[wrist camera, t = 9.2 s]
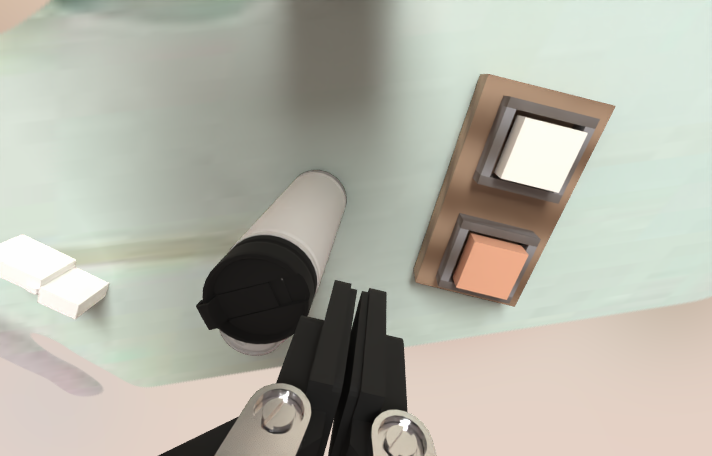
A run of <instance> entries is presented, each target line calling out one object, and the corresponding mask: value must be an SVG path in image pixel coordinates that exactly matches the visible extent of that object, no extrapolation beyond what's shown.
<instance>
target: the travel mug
mask: <svg viewBox="0 0 712 456" xmlns="http://www.w3.org/2000/svg"><path fill="white" fill-rule="evenodd" d="M346 202H347V198H346V192H345V189H344V187H343V185H342V184H341V182H340V181H339V180H338V179H337V178H336V177H335V176H333V175H332V174H330V173H328V172H325V171H321V170H311V171H307V172H305V173H302V174H301V175H299V176H298V177H297V178H296V179H295V180H294V181H293V182H292V183H291V184H290V186H289V187H288V188H287V189H286V190H285V191H284V192H283V193H282V194H281V195H280V196H279V197H278V198H277V199H276V201H275V202H274V203H273V204H272V205H271V206H270V207H269V208H268V209H267V210H266V211H265V212H264V213H263V215H262V216H261V217H260V218H259V219H258V220H257V221H256V222H255V223H254V224H253V225H252V226H251V227H250V228H249V230H248V231H247V232H246V233H245V234H244V235H243V236H242V237H241V238H240V239H239V240H238V241H237V242H236V244H235V245H234V246H233V247H232V248H231V249H230V251H229V252H228V254H227V255H226V256H225V257H224V258H223V259H222V260H221V261H220V262H219V263H218V264H217V265H216V266H215V268H214V269H213V270H212V271H211V272H210V274H209V275H208V277H207V279H206V281H205V284H204V287H203V300H201V301H200V302H199V303H198V304H197V305H196V307H197V309H198V311H199V313H200V315H201V317H202V319H203V320H204V322H205V324H206V326H207V327H208V329H209V330H212V329H216V328H218V329H219V330H221V331H222V332H223V333H225V334H226V335H227V336H229V337H231V338H233V339H235V340H238V341H241V342H245V343H250V344H270V343H276V342H279V341H281V340H284V339H286V338H288V337H290V336H291V335H293V334H294V333H295V330H296V327H297V325H298V322H299V319H300V317H301V315H303V316H308V313H309V310H310V308H311V305H312V302H313V299H314V297H315V295H316V293H317V290H318V286H319V284H320V281H321V278H322V275H323V272H324V269H325V266H326V263H327V260H328V257H329V255H330V252H331V249H332V246H333V243H334V240H335V237H336V234H337V231H338V228H339V225H340V222H341V219H342V216H343V213H344V210H345V207H346Z"/></svg>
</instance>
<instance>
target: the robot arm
mask: <svg viewBox="0 0 712 456" xmlns="http://www.w3.org/2000/svg"><path fill="white" fill-rule="evenodd" d="M356 294H357V290H355V289H351V284H350V283H345V282H341V281H337V280H335V282H334V286H333V290H332V294H331V298H330V301H329V305H328V309H327V313H326V317H325V321H324V320H320V319H316V318H311V317H307V316H303V315H301V317H300V319H299V322H298V325H297V327H296V330H295V333H294V336H293V338H292V341H291V344H290V347H289V349H288V352H287V355H286V358H285V360H284V363H283V366H282V369H281V371H280V374H279V377H278V380H277V383H276V384H271V385H268V386H264V387H263V388H261V389H260V390H258V391H256V393H255V394H254V395H253V396H252V397H251V398H250V400H249V401H248V403H247V404H246V406H245V408H244V409H243V411H242V412H241V414H240V416H239V417H237V418H235V419H233V420H231V421H229V422H226V423H225V424H222V425H220V426H218V427H216V428H214V429H212V430H210V431H208V432H206V433H204V434H202V435H200V436H198V437H196V438H194V439H192V440H189V441H187V442H186V443H183V444H181V445H179V446H177V447H175V448H173V449H171V450H169V451H167V452H165V453H163V454H161V455H159V456H323V455H324V452H325V448H326V445H327V441H328V437H329V434H330V430H331V427H332V423H333V428H332V435H331V441H330V447H329V454H328V456H437V455H436V452H435V448H434V444H433V440H432V438H431V435H430V433H429V431H428V429H427V428H426V427H425V426H424V424H423V423H422V422H421V421H419V419H418V418H416V417H415V416H413V415H411V414H409V413H408V412H407V396H406V377H405V359H404V343H403V339H402V338H397V337H393V336H389V335H386V292H384V291H380V290H375V289H371V288H369V291H368V292H364V291H362V293H361V296H360V300H359V304H358V307H357V311H356V315H355V318H354V322H353V326H352V321H353V314H354V307H355V300H356ZM351 328H352V330H351ZM333 420H334V422H333Z"/></svg>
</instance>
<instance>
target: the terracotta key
mask: <svg viewBox="0 0 712 456" xmlns="http://www.w3.org/2000/svg"><path fill="white" fill-rule="evenodd" d="M527 258H528V253H527V252H526V251H525V250H524V248H523V247H522V246H521V245H518V244H514V243H510V242H506V241H501V240H497V239H493V238H489V237H485V236H481V235H477V234H473V233H470V235H469V237H468V240H467V242H466V245H465V247H464V250H463V252H462V255H461V257H460V260H459V262H458V265H457V267H456V270H455V272H454V275H453V279H454V282H455V285H456V288H460V289H464V290H468V291H472V292H476V293H480V294H485V295H489V296H493V297H497V298H501V299H505V300H507V299H508V297H509V294H510V292H511V290H512V288H513V286H514V284H515V282H516V280H517V278H518V276H519V274H520V272H521V270H522V268H523V266H524V264H525V262H526V260H527Z"/></svg>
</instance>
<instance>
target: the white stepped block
mask: <svg viewBox="0 0 712 456" xmlns="http://www.w3.org/2000/svg"><path fill="white" fill-rule="evenodd" d="M75 264H76V259H74V258H71V257H69V256H67V255H65V254H63V253H61V252H59V251H57V250H55V249H53V248H51V247H49V246H46V245H44V244H42V243H40V242H38V241H36V240H34V239H32V238H30V237H28V236H26V235H24V234H22V235H19V236H17V237H14V238H12V239H10V240H7V241H5V242H3V243H0V277H1V278H3V279H5V280H7V281H9V282H12V283H14V284H16V285H18V286H20V287H22V288H25V289H26V291H28V292H31V293H33V294H35V295H36V294H38V301H37V302H38V303H40V304H43V305H45V306H47V307H49V308H51V309H53V310H56V311H58V312H60V313H62V314H64V315H66V316H69V317H71V318H73V319H76V318H78V317H79V316H80V315H82V314H83V313H84V312H86V311H87V310H88V309H89V308H91V307H92V306H93V305H95V304H96V303H97V302H99V301H100V300H101V299H103V298H104V297H105V296H106V293H107V289H108V286H109V283H108V282H106V281H104V280H102V279H100V278H97V277H95V276H93V275H91V274H89V273H87V272H85V271H83V270H81V269H79V268H77V267H75Z"/></svg>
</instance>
